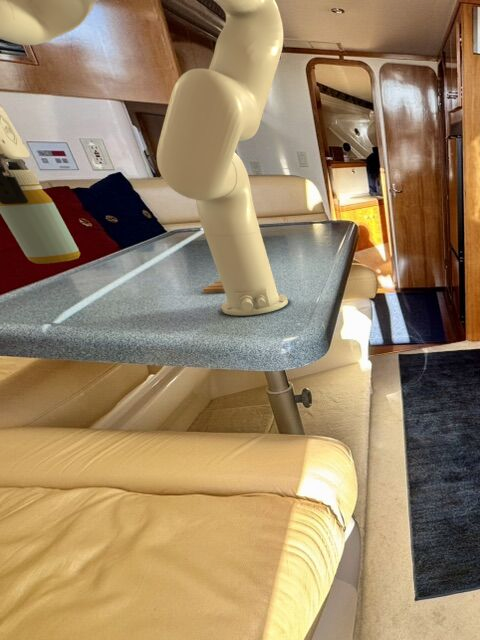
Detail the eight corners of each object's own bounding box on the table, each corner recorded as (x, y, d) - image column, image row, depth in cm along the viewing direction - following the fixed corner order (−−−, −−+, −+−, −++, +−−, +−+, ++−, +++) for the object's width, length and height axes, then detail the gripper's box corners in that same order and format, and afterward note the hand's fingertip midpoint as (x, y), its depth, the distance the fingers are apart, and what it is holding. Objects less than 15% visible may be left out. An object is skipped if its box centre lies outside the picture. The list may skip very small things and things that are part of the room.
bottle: (92, 256, 78) (47, 169, 70) (53, 264, 72) (-1, 170, 64) (60, 255, 78) (12, 169, 71) (19, 264, 72) (-38, 170, 65)
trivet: (251, 283, 103) (250, 279, 103) (238, 292, 97) (237, 287, 96) (219, 284, 102) (218, 280, 102) (204, 293, 96) (202, 288, 95)
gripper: (-39, 68, 56) (36, 204, 65) (10, 85, 69) (67, 197, 78) (-122, 63, 53) (-31, 207, 62) (-54, 82, 66) (13, 199, 75)
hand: (23, 200), depth 70 cm, fingers closed on bottle, 7 cm apart
